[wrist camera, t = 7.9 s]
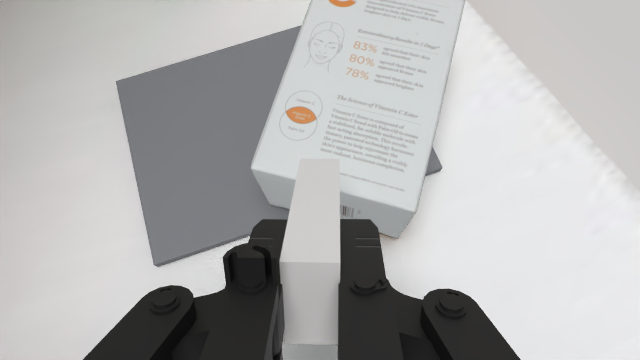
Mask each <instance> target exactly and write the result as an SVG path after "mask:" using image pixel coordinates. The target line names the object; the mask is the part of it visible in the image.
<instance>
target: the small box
mask: <svg viewBox="0 0 640 360" xmlns="http://www.w3.org/2000/svg"><path fill="white" fill-rule="evenodd" d="M464 3H465V0H311V2H310V5H309V7H308V10H307V13H306V15H305V18H304V21H303V23H302V26H301V29H300V32H299V35H298V37H297V40H296V43H295V46H294V48H293V51H292V54H291V56H290V59H289V62H288V64H287V67H286V70H285V72H284V75H283V78H282V80H281V83H280V86H279V89H278V91H277V94H276V97H275V99H274V102H273V105H272V108H271V110H270V113H269V116H268V119H267V121H266V124H265V127H264V130H263V132H262V135H261V138H260V140H259V143H258V146H257V149H256V152H255V154H254V157H253V161H252V164H251V170H252V172H253V174H254V176H255V178H256V180H257V182H258V184H259V185H260V187H261V189H262V191H263V192H264V194H265V196H266V198H267V200H268V202H269V204H270V205H274V206H277V207H283V208H287V209H290V207H291V202H292V197H293V192H294V187H295V182H296V177H297V172H298V167H299V162H300V158H302V159H339V169H340V219H370V220H371V221H372V222H373V223H374V224H375V225H376V226H377V227H378V231H379V233H382V234H385V235H388V236H392V237H395V238H399V236H400V235H401V233H402V232H403V230H404V229H405V227H406V226H407V225H408V223H409V222H410V220H411V219H412V217H413V216H414V214H415V213H416V211H417V207H418V203H419V199H420V195H421V191H422V186H423V182H424V178H425V174H426V170H427V166H428V161H429V157H430V153H431V149H432V145H433V141H434V137H435V133H436V128H437V124H438V120H439V115H440V111H441V106H442V101H443V97H444V92H445V88H446V83H447V79H448V74H449V70H450V65H451V60H452V56H453V51H454V47H455V43H456V39H457V34H458V30H459V26H460V21H461V17H462V12H463V8H464Z"/></svg>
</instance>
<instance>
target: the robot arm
mask: <svg viewBox="0 0 640 360" xmlns="http://www.w3.org/2000/svg"><path fill="white" fill-rule="evenodd" d="M223 263H224V271H225V279H226V286H225V289H223V290H221V291H219V292H217V293H213V294H210V295H205V296H200V297H195V298H193V294H192V292H191V291H190V290H189V289H187V288H185V287H182V286H173V285H170V286H165V287H160V288H158V289H156V290H153V291H151V292H149V293H148V294H147V295H145V296H144V297H143V298H142V299H141V300H140V301H139V302H138V303H137V304H136V305H135V306H134V307H133V308H132V309H131V310H130V311H129V312H128V313H127V314H126V315H125V316H124V317H123V318H122V319H121V320H120V322H119V323H118V324H117V325H116V326H115V327H114V328H113V329H112V330H111V331H110V332H109V333H108V334H107V335H106V336H105V337H104V338H103V339H102V340H101V341H100V342H99V343H98V344H97V345H96V346H95V348H94V349H93V350H92V351H91V352H90V353H89V354H88V355H87V356H86V357H85V358H84V359H83V360H283V357H282V342H283V335H284V344H313V345H338V360H520V358H519V357H518V356H517V355H516V353H515V352H514V351H513V349H512V348H511V347H510V345H509V344H508V343H507V342H506V340H505V339H504V338H503V336H502V335H501V334H500V333H499V331H498V330H497V329H496V327H495V326H494V325H493V323H492V322H491V321H490V320H489V318H488V317H487V316H486V314H485V313H484V312H483V311H482V309H481V308H480V307H479V305H478V304H477V303H476V302H475V301H474V300H473V299H472V298H471V297H470V296H468V295H466V294H464V293H462V292H460V291H456V290H452V289H437V290H434V291H430V292H429V293H428V294H427V295H426V296H424V299H423V300H421V299H417V298H413V297H410V296H407V295H404V294H402V293H400V292H398V291H396V290H395V289H394V288H393V287H391V285H390V283H389V281H388V280H387V279H386V275H385V269H384V263H383V256H382V250H381V244H380V237H379V231H378V227H377V226H376V225H375V224H374V223H373V222H372V221H371V220H370V219H340V169H339V159H302V158H300V162H299V167H298V172H297V177H296V182H295V187H294V192H293V197H292V202H291V207H290V212H289V216H288V219H262V220H261V221H260V222H259V223H258V224H256V225H255V226H254V227H253V230H252V233H251V236H250V239H249V242H248V243H246V244H242V245H238V246H235V247H233V248H232V249H230V250H229V251H227V252H226V254H225V255H224V256H223Z"/></svg>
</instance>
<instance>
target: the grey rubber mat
mask: <svg viewBox="0 0 640 360" xmlns="http://www.w3.org/2000/svg"><path fill="white" fill-rule="evenodd" d="M301 26H302V25H301ZM301 26H298V27H295V28H291V29H288V30H285V31H281V32H278V33H275V34H271V35H268V36H265V37H261V38H258V39H255V40H251V41H248V42H245V43H242V44H238V45H235V46H232V47H228V48H225V49H222V50H218V51H215V52H212V53H208V54H205V55H202V56H198V57H195V58H192V59H189V60H185V61H182V62H179V63H175V64H172V65H169V66H165V67H162V68H159V69H155V70H152V71H149V72H145V73H142V74H139V75H136V76H132V77H129V78H126V79H122V80H119V81H116V84H117V89H118V94H119V99H120V104H121V108H122V113H123V118H124V123H125V128H126V133H127V137H128V142H129V147H130V152H131V157H132V162H133V167H134V171H135V176H136V181H137V186H138V191H139V196H140V200H141V205H142V210H143V215H144V220H145V225H146V229H147V234H148V239H149V244H150V249H151V254H152V258H153V263H154V265H155V266H161V265H164V264H167V263H170V262H173V261H176V260H179V259H182V258H185V257H188V256H191V255H194V254H196V253H199V252H202V251H205V250H208V249H211V248H214V247H217V246H220V245H223V244H226V243H229V242H232V241H235V240H238V239H241V238H244V237H247V236H250V235H251V233H252V230H253V227H254V226H255V225H256V224H258V223H259V222H260V221H261V220H262V219H288V216H289V212H290V209H287V208H283V207H277V206H274V205H270V204H269V202H268V200H267V198H266V196H265V194H264V192H263V191H262V189H261V187H260V185H259V184H258V182H257V180H256V178H255V176H254V174H253V172H252V170H251V164H252V161H253V157H254V154H255V152H256V149H257V146H258V143H259V140H260V138H261V135H262V132H263V130H264V127H265V124H266V121H267V119H268V116H269V113H270V110H271V108H272V105H273V102H274V99H275V97H276V94H277V91H278V89H279V86H280V83H281V80H282V78H283V75H284V72H285V70H286V67H287V64H288V62H289V59H290V56H291V54H292V51H293V48H294V46H295V43H296V40H297V37H298V35H299V32H300V29H301ZM441 169H442V166H441V164H440V162H439V159H438V157H437V155H436V153H435V151H434V149H433V147H432V149H431V153H430V157H429V161H428V166H427V170H426V174H425V176H426V175H429V174H432V173H435V172H438V171H440V170H441Z"/></svg>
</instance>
